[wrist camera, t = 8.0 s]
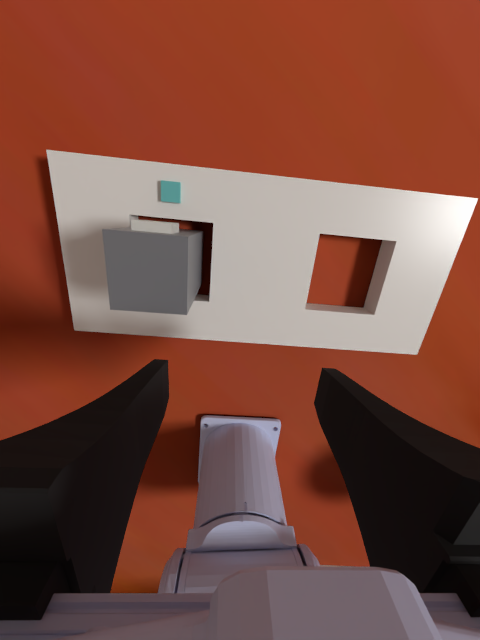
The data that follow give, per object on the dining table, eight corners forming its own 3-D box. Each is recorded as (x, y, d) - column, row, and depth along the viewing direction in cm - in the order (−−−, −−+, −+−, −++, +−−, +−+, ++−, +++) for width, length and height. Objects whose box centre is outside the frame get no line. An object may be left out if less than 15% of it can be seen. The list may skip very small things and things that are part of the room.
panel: (403, 344, 23) (419, 356, 21) (86, 321, 21) (72, 332, 19) (456, 200, 19) (482, 198, 17) (64, 156, 17) (42, 148, 15)
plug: (201, 283, 21) (187, 315, 14) (151, 279, 20) (109, 309, 13) (203, 224, 19) (188, 225, 12) (149, 218, 19) (100, 217, 12)
